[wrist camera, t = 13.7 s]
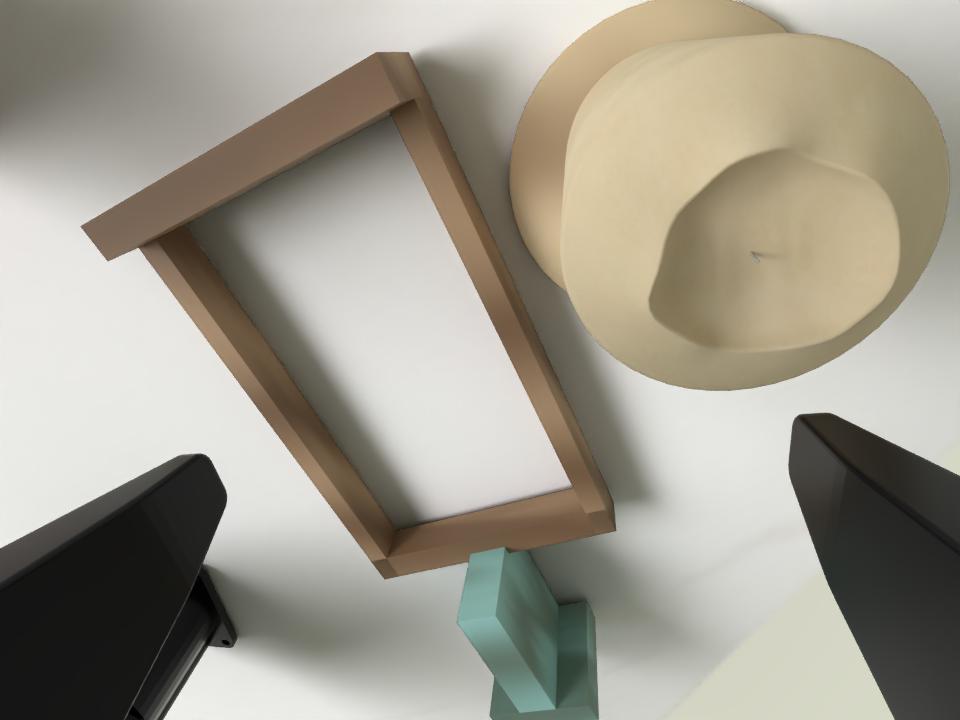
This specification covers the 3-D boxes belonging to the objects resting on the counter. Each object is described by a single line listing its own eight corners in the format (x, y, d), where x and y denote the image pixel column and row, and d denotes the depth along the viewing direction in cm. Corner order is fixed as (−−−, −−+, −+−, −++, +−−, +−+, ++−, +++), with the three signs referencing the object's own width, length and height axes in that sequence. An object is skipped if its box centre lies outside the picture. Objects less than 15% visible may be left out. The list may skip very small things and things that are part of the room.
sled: (661, 606, 25) (678, 715, 21) (456, 639, 29) (436, 737, 25) (408, 52, 16) (349, 52, 12) (147, 202, 19) (29, 244, 15)
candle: (586, 262, 18) (598, 464, 9) (546, 79, 15) (512, 116, 7) (771, 220, 16) (994, 412, 8) (760, 10, 14) (1069, -56, 5)
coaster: (792, 307, 18) (797, 314, 17) (519, 313, 19) (518, 319, 19) (858, -24, 14) (868, -27, 13) (501, 18, 15) (498, 16, 15)
